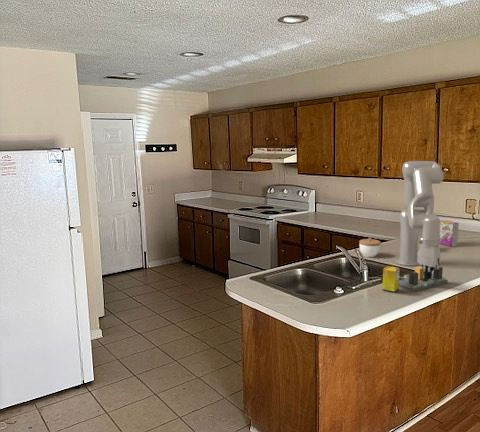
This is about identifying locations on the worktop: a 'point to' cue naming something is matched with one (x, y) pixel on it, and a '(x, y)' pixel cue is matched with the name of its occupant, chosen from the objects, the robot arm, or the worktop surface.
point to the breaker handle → (419, 272)
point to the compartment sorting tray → (421, 281)
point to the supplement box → (390, 279)
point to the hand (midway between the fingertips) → (427, 278)
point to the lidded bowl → (369, 247)
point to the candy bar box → (448, 233)
